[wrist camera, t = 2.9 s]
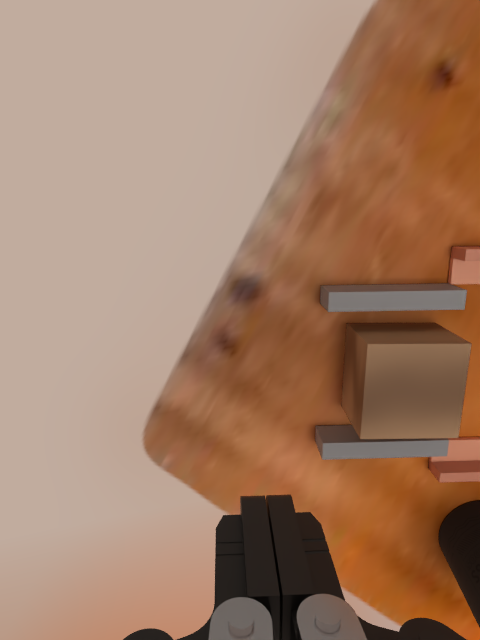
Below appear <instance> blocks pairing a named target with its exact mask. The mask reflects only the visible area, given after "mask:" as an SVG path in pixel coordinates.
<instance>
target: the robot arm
mask: <svg viewBox="0 0 480 640" xmlns="http://www.w3.org/2000/svg"><path fill="white" fill-rule="evenodd" d="M240 503H241V515H223V517H222V519H221V521H220V522H219V524H218V526H217V527H216V559H215V604H214V610H213V613H212V615H211V617H210V619H209V620H208V621H207V623H206V624H205V625H204V626H203V627H202V628H200V629H199V630H198V631H196V632H194V633H193V634H191V635H188V636H186V637H183V638H180V639H177V640H466V639H465V638H463V637H462V636H460V635H459V634H457V633H456V632H455V631H453V630H452V629H450V628H449V627H447V626H446V625H444V624H442V623H440V622H438V621H435V620H432V619H428V618H414V619H411V620H409V621H407V622H405V623H404V624H403V625H402V627H401V628H400V631H399V632H397V631H393V630H389V629H386V628H382V627H378V626H375V625H372V624H370V623H367V622H366V621H364V620H362V619H361V618H360V617H358V616H357V615H356V613H355V611H354V610H353V608H352V607H351V606H350V605H349V604H348V603H347V602H346V601H345V599H344V596H343V594H342V590H341V587H340V584H339V580H338V577H337V574H336V571H335V568H334V564H333V561H332V558H331V555H330V553H329V548H328V545H327V542H326V541H325V536H324V533H323V529H322V526H321V524H320V523H319V522H318V520H317V519H316V518H315V517H314V516H313V515H312V514H311V513H310V512H302V513H295V509H294V505H293V500H292V497H291V495H267V496H266V500H265V496H241V499H240ZM123 640H173V639H172V637H171V636H170V635H168V634H167V633H165V632H164V631H161V630H158V629H143V630H139V631H136V632H134V633H132V634H130V635H129V636H127V637H126V638H124V639H123Z"/></svg>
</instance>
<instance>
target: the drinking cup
mask: <svg viewBox="0 0 480 640" xmlns="http://www.w3.org/2000/svg"><path fill="white" fill-rule="evenodd" d="M439 544H440V547H441V550H442V552H443V554H444V556H445V558H446V560H447V562H448V564H449V566H450V568H451V570H452V572H453V574H454V576H455V578H456V580H457V582H458V584H459V586H460V588H461V590H462V592H463V594H464V596H465V599H466V601H467V603H468V605H469V607H470V609H471V611H472V613H473V615H474V617H475V619H476V621H477V623H478V625H479V627H480V501H473V502H469V503H466V504H463V505H461V506H459V507H458V508H456V509H455V510H453V511H452V512H451V513H450V514H449V515H448V516H447V517H446V518H445V520H444V521H443V523H442V525H441V528H440V531H439Z"/></svg>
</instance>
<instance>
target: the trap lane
mask: <svg viewBox="0 0 480 640" xmlns="http://www.w3.org/2000/svg"><path fill="white" fill-rule="evenodd" d="M451 284H480V246H456V247H452V250H451V259H450V268H449V278H448V283H441V284H378V285H321V294H320V304H321V305H322V306H323V307H324V308H325V309H326V310H327V311H328V312H349V311H407V310H464V309H465V302H466V294H467V290H465V289H462V288H459V287H457V286H454V285H451ZM315 442H316V444H317V447H318V450H319V452H320V455H321V457H322V460H326V459H364V458H402V457H429V464H428V468H429V469H430V471H431V472H432V473H433V475H434V476H435V477H436V479H437V480H438V481H439V482H471V481H480V437H458V438H420V439H360V438H359V436H358V434H357V433H356V431H355V429H354V427H353V426H352V425H330V426H316V436H315Z"/></svg>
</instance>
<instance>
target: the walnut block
mask: <svg viewBox="0 0 480 640" xmlns="http://www.w3.org/2000/svg"><path fill="white" fill-rule="evenodd" d="M470 351H471V343H470V342H468V341H466V340H464V339H463V338H461V337H459V336H457V335H456V334H454V333H452V332H450V331H449V330H447V329H445V328H443V327H442V326H440V325H438V324H436V323H347V325H346V340H345V356H344V371H343V386H342V401H341V406H342V408H343V410H344V411H345V413H346V415H347V417H348V419H349V420H350V422H351V424H352V426H353V427H354V429H355V431H356V433H357V434H358V436H359V438H360V439H420V438H458V437H459V429H460V422H461V415H462V408H463V401H464V394H465V387H466V380H467V372H468V365H469V358H470Z"/></svg>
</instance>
